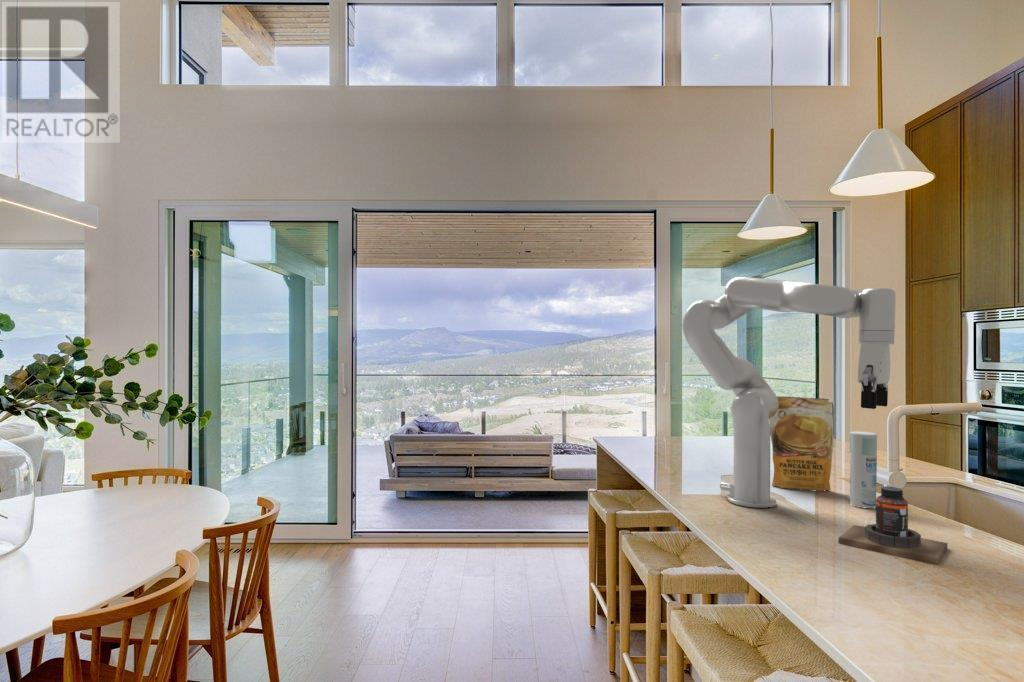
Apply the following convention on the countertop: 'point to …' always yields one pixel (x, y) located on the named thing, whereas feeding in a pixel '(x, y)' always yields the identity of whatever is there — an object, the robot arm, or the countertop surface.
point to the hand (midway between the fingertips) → (874, 407)
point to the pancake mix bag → (802, 443)
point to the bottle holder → (895, 543)
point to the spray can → (863, 468)
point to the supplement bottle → (892, 512)
